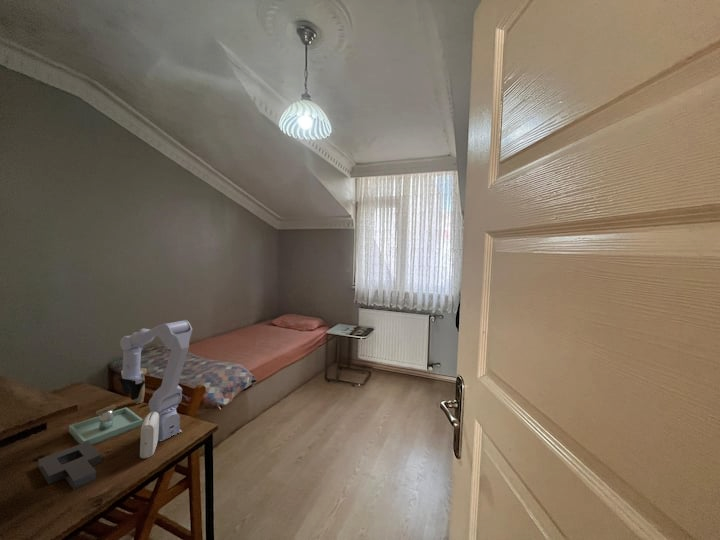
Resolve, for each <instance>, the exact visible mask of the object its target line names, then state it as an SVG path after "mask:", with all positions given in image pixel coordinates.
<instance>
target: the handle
mask: <svg viewBox="0 0 720 540" xmlns="http://www.w3.org/2000/svg"><path fill="white" fill-rule="evenodd" d="M140 371H142V372H143V374H141V378H142V380H144V381H145V375H147V373H148V369H147V368H145V367H140ZM145 383H146V381H145ZM145 383H144V385H143V386H142V388H141V390H140V393H139V397H138V398H137V399H134V404H136V405H139V403H140V404H142V403H144V400H145V399H144V398H145V394H146V393H145V390H146V388H145V387H146V384H145Z"/></svg>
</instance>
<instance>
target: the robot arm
mask: <svg viewBox="0 0 720 540" xmlns="http://www.w3.org/2000/svg"><path fill="white" fill-rule="evenodd" d="M192 333H193V327H192V325H191V323H190V322H189V321H188V320H187V319H183V320H178V321H174V322H168V323H161V324H158V325H156V326H155V327H152V328H151V329H150V328H140V329H139V331H138V332H137V331H135V332H132V334H131V335H123V336H122V337H121V339H120V342H119V345H120V348H121V349H122V350H123V353H122V370H121V371H120V373H121V374H120V375H121V376H120V377H117V381H118V382H119V383H120V387H121V391H122V393H123V395H127V394H129V395H130V399H131V400H132V401H135V399H137V398H138V397H139V393H140V390H141V388H142V386H143V385H144V383H146V381H144V380H142V378H141V374H143V372H142V371H140V368H141V358H142V357H141V356H142V355H141V354H142V351H143V348H144V346H145V345H147V344H149V343H152V342H153V340H154V339H155V337H158V338H159V339H160V340H161V342H162V343H163V345H164V346H165V347H166V348H167V349H170V353H169V357H168V360H167V364H166V367H165V371H164V374H163V377H162V378H163V379H162V382H161V385H160V386H159V387H158V388H157V389H156V390H155V391H154V392H153V394H152V396H151V398H150V399H149V400H148V408H149V411H150V412H157V413H158V414H159V433H158V442H162V441H165V440H167V439H169V438H171V436H172V437H173V435H174V436H176V435H178V434H177V433H179V434H181V433H182V432H183V430H182V429H180V428H181V427H180V426H181V416H180V414H179V413H178V412H177V408H178V407H179V404H180V403H181V402H182V399H183V396H182V395H183V394H182V393H183V388H182V387H181V386H180V385H179V382H180V379H181V376H182V372H183V369H184V365H185V362H186V360H187V359H186V358H187V354H188V351H189V348H190V340H191V337H192ZM180 432H181V433H180Z"/></svg>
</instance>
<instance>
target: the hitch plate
mask: <svg viewBox="0 0 720 540" xmlns="http://www.w3.org/2000/svg"><path fill="white" fill-rule="evenodd" d="M64 462H65V463H64ZM100 463H102V454H101V453H100V452H99V451H98V450H97V449H96V448H95V446H94V445H92V444H91V443H90V442H89V441H87V442H85V443H82V444H79V443H78V444H77V445H74V446H72V447H69V448H65V449H64V450H60V451H58V452H55V453H52V454H50V455H47V456H45V457H42V458H38V463H37V464H38V466H37V467H39V468H38V470H39V471H40V470H41V471H40V473H41V472H42V473H41V474H42V476H43V478H44V477H45V478H44V479H45V481H46V482H47V484H48V485H51V484H53V483H56V482H58V481H61V480H63V479H64V478H65V479H66V481H67V482H68V484H69V485H70V486H71V488H72V489H73V490H76V489H78V488H80V487H82V486H84V485H86V484H89V483H91V482H93V481H95V480H96V479H97V470H96V469H95V468H94V466H96V465H98V464H100Z"/></svg>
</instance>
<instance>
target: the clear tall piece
mask: <svg viewBox="0 0 720 540" xmlns="http://www.w3.org/2000/svg"><path fill="white" fill-rule="evenodd" d="M114 409H117V405H116V404H112V405H109V406H106V407H103V408H102V409H99V410H96V412H95V415H97V416H99V430H107V429H110V428H111V427H112V426H113V411H114Z"/></svg>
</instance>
